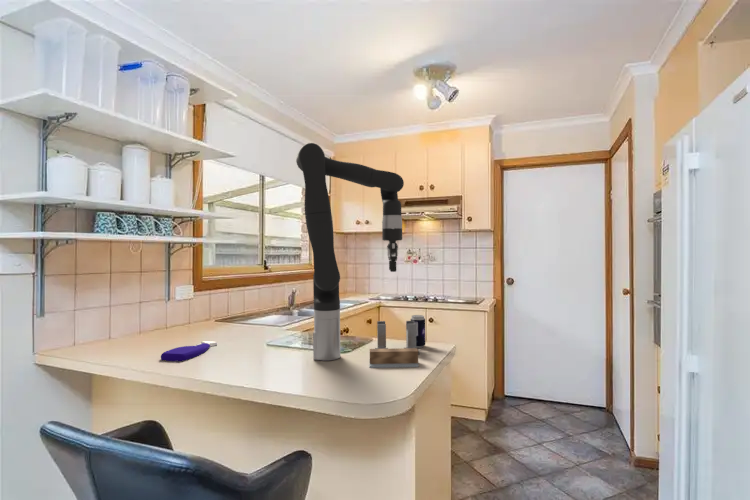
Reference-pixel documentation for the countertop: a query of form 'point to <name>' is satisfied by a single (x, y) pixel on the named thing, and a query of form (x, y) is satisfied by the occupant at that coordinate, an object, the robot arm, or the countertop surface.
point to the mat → (393, 365)
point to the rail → (394, 356)
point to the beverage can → (419, 330)
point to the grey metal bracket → (381, 335)
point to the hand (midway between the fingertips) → (392, 270)
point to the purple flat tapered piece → (187, 351)
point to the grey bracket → (411, 335)
